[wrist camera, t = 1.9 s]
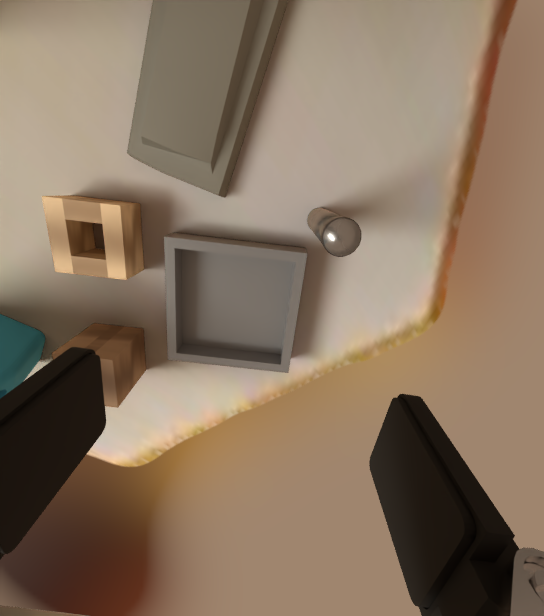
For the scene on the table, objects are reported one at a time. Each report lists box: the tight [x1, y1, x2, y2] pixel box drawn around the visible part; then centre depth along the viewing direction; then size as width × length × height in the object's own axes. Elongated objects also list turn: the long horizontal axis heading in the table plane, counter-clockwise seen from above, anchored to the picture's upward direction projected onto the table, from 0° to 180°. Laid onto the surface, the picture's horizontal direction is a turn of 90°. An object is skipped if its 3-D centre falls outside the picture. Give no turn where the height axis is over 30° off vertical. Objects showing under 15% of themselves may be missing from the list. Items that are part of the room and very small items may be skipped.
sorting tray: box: [164, 232, 307, 373], centre depth 32 cm, size 14×14×3 cm
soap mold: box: [127, 0, 288, 197], centre depth 24 cm, size 10×20×4 cm, turn 158°
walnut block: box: [52, 323, 146, 407], centre depth 33 cm, size 6×6×7 cm
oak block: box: [42, 195, 144, 280], centre depth 29 cm, size 7×7×4 cm
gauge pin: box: [307, 208, 361, 257], centre depth 24 cm, size 2×2×12 cm
